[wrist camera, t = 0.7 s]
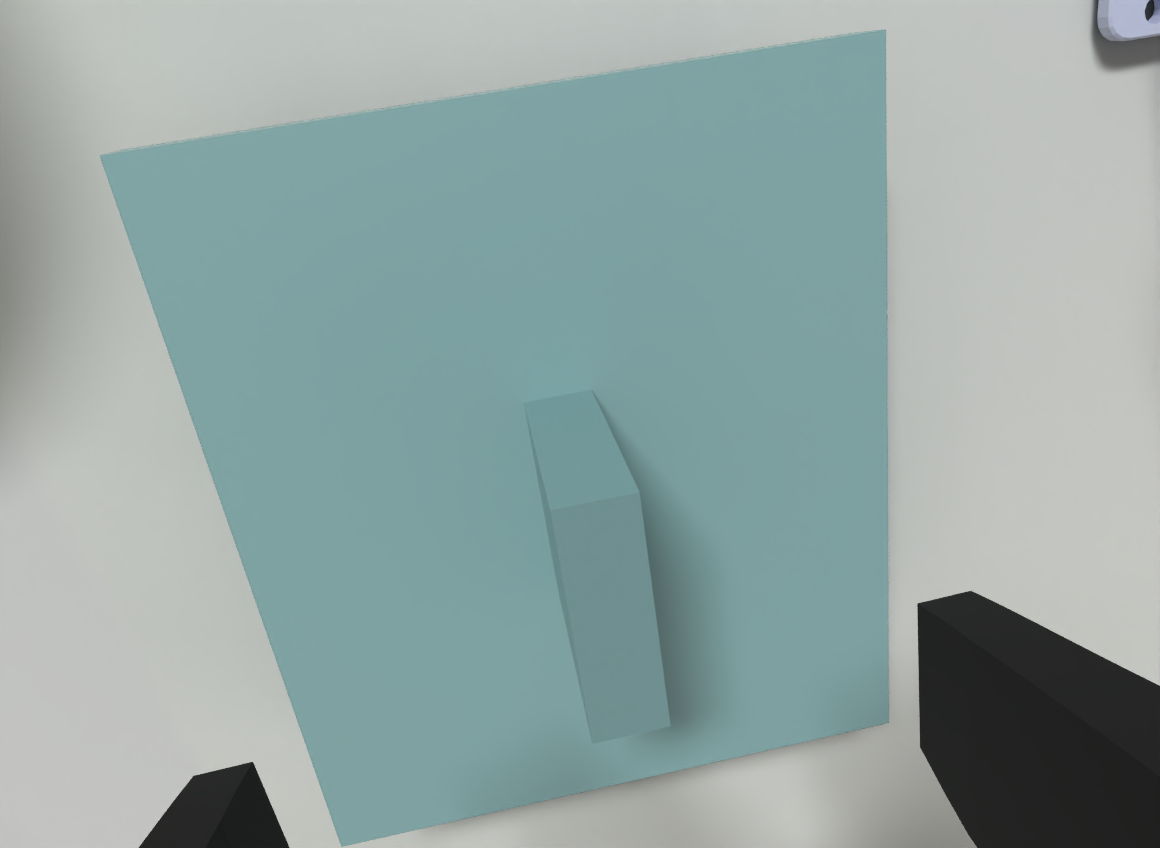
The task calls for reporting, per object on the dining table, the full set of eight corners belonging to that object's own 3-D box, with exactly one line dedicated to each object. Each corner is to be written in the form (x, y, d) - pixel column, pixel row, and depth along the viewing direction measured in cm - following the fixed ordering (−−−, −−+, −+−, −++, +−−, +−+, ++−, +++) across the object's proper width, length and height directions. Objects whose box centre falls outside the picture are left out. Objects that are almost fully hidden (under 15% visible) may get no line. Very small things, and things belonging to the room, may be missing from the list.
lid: (833, 34, 15) (1050, 15, 10) (849, 665, 21) (995, 877, 15) (142, 144, 14) (-41, 191, 9) (350, 775, 20) (316, 1044, 14)
